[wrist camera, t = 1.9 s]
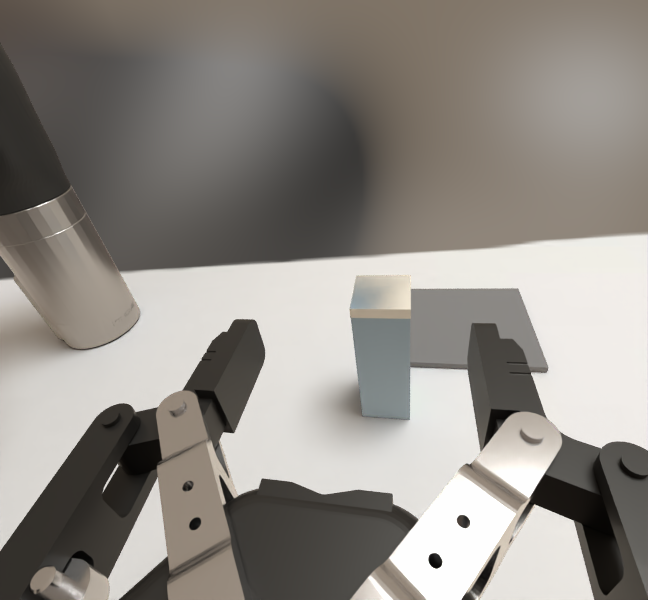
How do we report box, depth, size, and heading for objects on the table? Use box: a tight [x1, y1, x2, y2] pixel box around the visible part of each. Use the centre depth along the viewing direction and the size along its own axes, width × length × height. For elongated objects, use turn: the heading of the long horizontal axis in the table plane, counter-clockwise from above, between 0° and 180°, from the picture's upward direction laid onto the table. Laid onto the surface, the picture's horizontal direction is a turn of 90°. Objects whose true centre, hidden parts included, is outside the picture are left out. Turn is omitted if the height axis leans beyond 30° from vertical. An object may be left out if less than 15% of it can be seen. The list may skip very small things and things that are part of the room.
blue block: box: [350, 275, 411, 420], centre depth 30 cm, size 4×4×12 cm
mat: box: [410, 289, 548, 372], centre depth 39 cm, size 14×12×1 cm
